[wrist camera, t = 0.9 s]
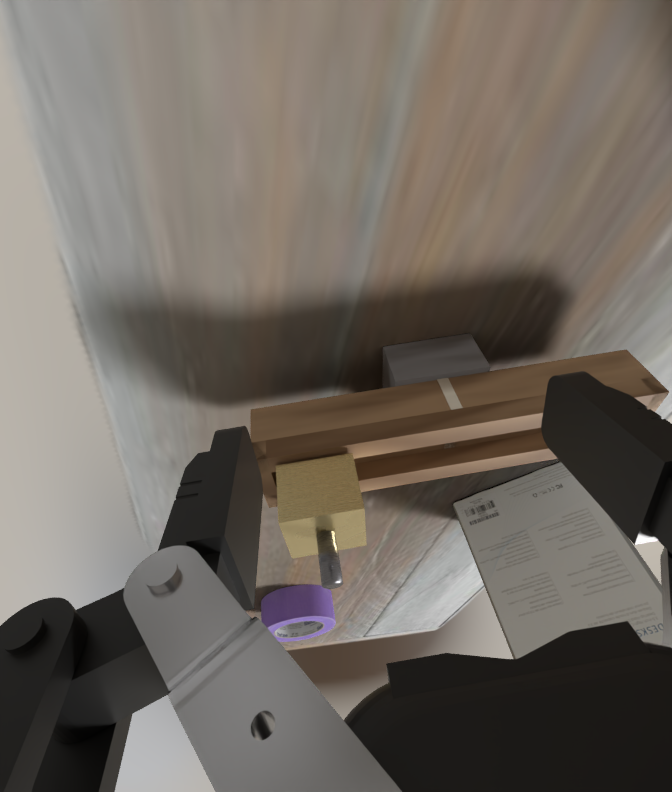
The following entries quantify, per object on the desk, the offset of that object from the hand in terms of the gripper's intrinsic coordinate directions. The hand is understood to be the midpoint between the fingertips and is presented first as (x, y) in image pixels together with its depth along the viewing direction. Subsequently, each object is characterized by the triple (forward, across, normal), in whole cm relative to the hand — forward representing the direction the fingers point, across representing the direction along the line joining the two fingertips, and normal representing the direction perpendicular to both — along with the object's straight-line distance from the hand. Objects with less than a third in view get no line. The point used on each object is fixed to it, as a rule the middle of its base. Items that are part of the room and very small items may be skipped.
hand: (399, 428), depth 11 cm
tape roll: (+34, +12, +56) cm, 67 cm away
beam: (+21, -6, +10) cm, 25 cm away
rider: (+14, +3, +12) cm, 19 cm away
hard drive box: (+28, -20, +34) cm, 48 cm away
